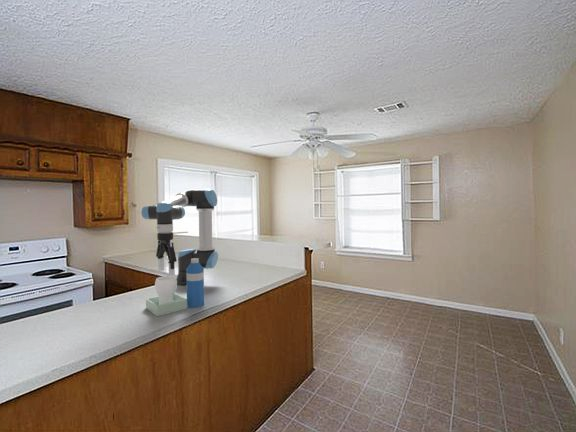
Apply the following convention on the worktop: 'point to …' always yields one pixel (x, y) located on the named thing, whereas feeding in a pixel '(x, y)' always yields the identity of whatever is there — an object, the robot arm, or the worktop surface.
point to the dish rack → (166, 305)
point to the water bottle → (195, 284)
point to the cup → (165, 288)
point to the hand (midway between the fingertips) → (166, 272)
